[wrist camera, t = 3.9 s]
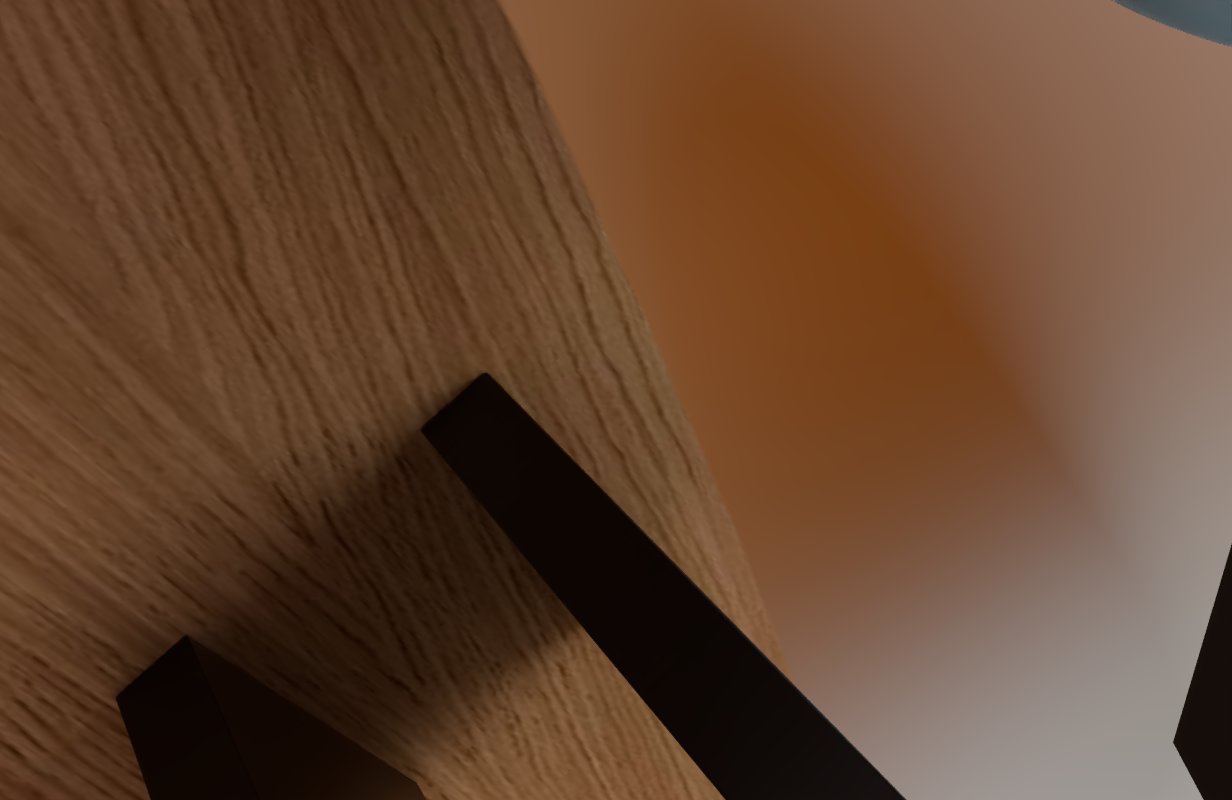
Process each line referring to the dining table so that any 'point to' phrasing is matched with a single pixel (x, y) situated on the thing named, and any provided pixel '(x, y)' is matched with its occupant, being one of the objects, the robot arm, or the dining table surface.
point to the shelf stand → (594, 594)
